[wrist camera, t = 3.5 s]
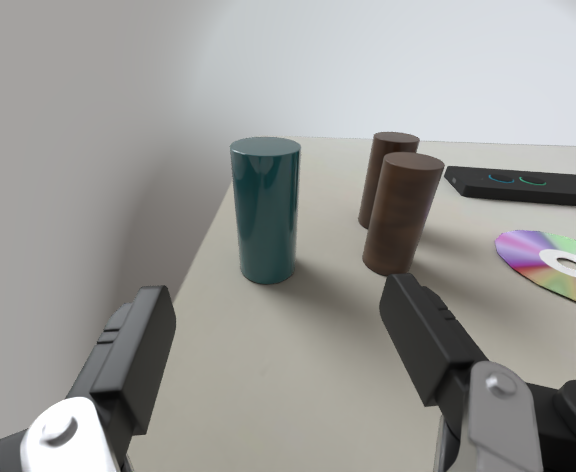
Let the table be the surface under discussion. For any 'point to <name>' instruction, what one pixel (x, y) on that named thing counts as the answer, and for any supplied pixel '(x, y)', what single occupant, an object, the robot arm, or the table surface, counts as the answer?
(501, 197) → the smart home device
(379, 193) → the brown wooden cylinder
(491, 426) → the robot arm
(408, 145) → the cylinder
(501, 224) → the table surface
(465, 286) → the table surface
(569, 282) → the cd
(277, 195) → the teal cylinder
